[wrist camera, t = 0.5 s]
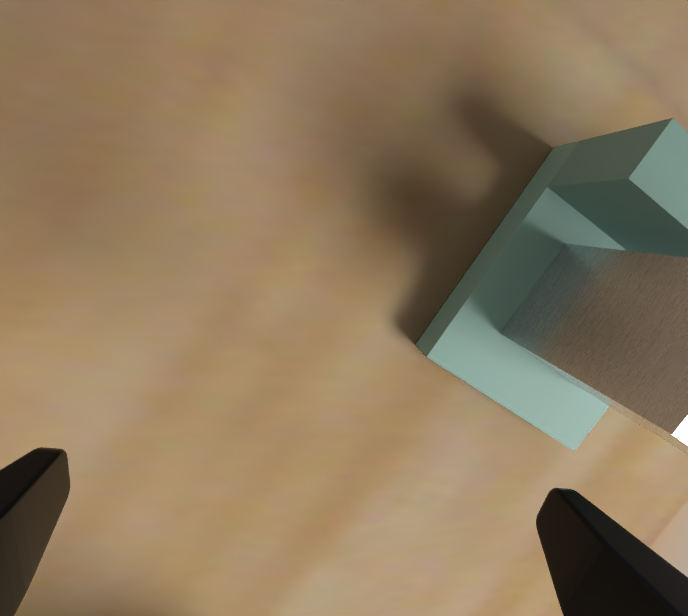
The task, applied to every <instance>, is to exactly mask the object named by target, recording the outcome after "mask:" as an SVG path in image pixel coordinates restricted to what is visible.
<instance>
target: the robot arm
mask: <svg viewBox="0 0 688 616" xmlns="http://www.w3.org/2000/svg"><path fill="white" fill-rule="evenodd" d="M69 491H70V477H69V468H68V458H67V453H66V452H65V451H64V450H63V449H56V448H43V447H41V448H37V449H34V450H32V451H31V452H29V453H28V454H26V455H24V456H23V457H21V458H19V459H18V460H16V461H14V462H13V463H11V464H9V465H8V466H6V467H5V468H3V469H1V470H0V616H14V614H15V612H16V611H17V609H18V607H19V605H20V603H21V601H22V599H23V597H24V596H25V594H26V592H27V589H28V587H29V585H30V583H31V581H32V579H33V576H34V574H35V572H36V569H37V567H38V565H39V563H40V560H41V558H42V556H43V553H44V551H45V549H46V546H47V544H48V542H49V540H50V537H51V535H52V533H53V530H54V528H55V526H56V523H57V521H58V519H59V516H60V514H61V512H62V510H63V507H64V505H65V503H66V500H67V498H68V495H69ZM536 526H537V531H538V534H539V538H540V541H541V544H542V548H543V551H544V554H545V558H546V561H547V564H548V568H549V571H550V574H551V578H552V581H553V584H554V588H555V591H556V594H557V598H558V601H559V604H560V607H561V610H562V613H563V615H564V616H688V577H686V576H685V575H684V574H682V573H681V572H680V571H679V570H677V569H676V568H675V567H673V566H672V565H671V564H670V563H668V562H667V561H666V560H664V559H663V558H662V557H661V556H659V555H658V554H656V553H655V552H654V551H653V550H651V549H650V548H649V547H648V546H646V545H645V544H644V543H642V542H641V541H640V540H639V539H637V538H636V537H635V536H633V535H632V534H631V533H630V532H628V531H627V530H626V529H624V528H623V527H622V526H620V525H619V524H618V523H617V522H615V521H614V520H613V519H611V518H610V517H609V516H608V515H606V514H605V513H604V512H602V511H601V510H600V509H599V508H597V507H596V506H595V505H593V504H592V503H591V502H589V501H588V500H587V499H586V498H584V497H583V496H582V495H580V494H579V493H578V492H576V491H575V490H572V489H563V488H553V489H552V490H550V492H549V493H548V495H547V497H546V499H545V501H544V503H543V505H542V507H541V509H540V511H539V513H538V515H537V519H536Z"/></svg>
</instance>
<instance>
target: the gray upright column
mask: <svg viewBox="0 0 688 616" xmlns="http://www.w3.org/2000/svg"><path fill="white" fill-rule="evenodd" d="M500 334H501V335H503V336H504V337H506V338H507V339H508V340H510V341H511V342H513V343H514V344H516V345H517V346H519V347H520V348H522V349H523V350H525V351H526V352H527V353H529V354H530V355H532V356H533V357H535V358H536V359H538V360H539V361H541V362H542V363H544V364H545V365H546V366H548V367H549V368H551V369H552V370H554V371H555V372H557V373H558V374H560V375H561V376H563V377H564V378H566V379H567V380H568V381H570V382H571V383H573V384H574V385H576V386H577V387H579V388H581V389H582V390H584V391H586V392H587V393H589V394H590V395H592V396H594V397H595V398H597V399H599V400H600V401H602V402H604V403H605V404H607V405H608V406H610V407H612V408H613V409H615V410H617V411H618V412H620V413H622V414H623V415H625V416H626V417H628V418H630V419H631V420H633V421H635V422H636V423H638V424H639V425H641V426H643V427H644V428H646V429H648V430H649V431H651V432H653V433H654V434H656V435H657V436H659V437H661V438H662V439H664V440H666V441H667V442H669V443H670V444H672V445H674V446H675V447H677V448H679V449H680V450H682V451H684V452H685V453H687V454H688V258H687V257H678V256H670V255H661V254H652V253H643V252H635V251H626V250H617V249H609V248H600V247H591V246H582V245H574V244H564V245H563V247H562V248H561V249H560V251H559V252H558V254H557V255H556V256H555V258H554V259H553V260H552V262H551V263H550V265H549V266H548V267H547V269H546V270H545V271H544V273H543V274H542V276H541V277H540V278H539V280H538V281H537V282H536V284H535V285H534V287H533V288H532V289H531V291H530V292H529V293H528V295H527V296H526V298H525V299H524V300H523V302H522V303H521V304H520V306H519V307H518V309H517V310H516V311H515V313H514V314H513V315H512V317H511V318H510V320H509V321H508V322H507V324H506V325H505V326H504V328H503V329H502V331H501V332H500Z"/></svg>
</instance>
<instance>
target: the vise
mask: <svg viewBox="0 0 688 616" xmlns="http://www.w3.org/2000/svg"><path fill="white" fill-rule="evenodd" d="M564 244H574V245H582V246H591V247H600V248H609V249H617V250H626V251H635V252H643V253H652V254H661V255H670V256H678V257H687V258H688V132H687V131H686V130H685V129H684V128H683V127H682V126H681V125H680V124H679V123H678V122H677V121H675V120H674V119H673V118H671V119H667V120H663V121H659V122H655V123H651V124H647V125H643V126H639V127H635V128H631V129H627V130H623V131H619V132H615V133H611V134H607V135H603V136H598V137H594V138H590V139H586V140H582V141H578V142H574V143H570V144H566V145H562V146H558V147H554V148H553V150H552V151H551V152H550V154H549V155H548V157H547V158H546V160H545V161H544V162H543V164H542V165H541V167H540V168H539V169H538V171H537V172H536V174H535V175H534V177H533V178H532V179H531V181H530V182H529V184H528V185H527V187H526V188H525V189H524V191H523V192H522V194H521V195H520V196H519V198H518V199H517V201H516V202H515V204H514V205H513V206H512V208H511V209H510V211H509V212H508V214H507V215H506V216H505V218H504V219H503V221H502V222H501V224H500V225H499V226H498V228H497V229H496V231H495V232H494V233H493V235H492V236H491V238H490V239H489V241H488V242H487V243H486V245H485V246H484V248H483V249H482V251H481V252H480V253H479V255H478V256H477V258H476V259H475V261H474V262H473V263H472V265H471V266H470V268H469V269H468V270H467V272H466V273H465V275H464V276H463V278H462V279H461V280H460V282H459V283H458V285H457V286H456V288H455V289H454V290H453V292H452V293H451V295H450V296H449V297H448V299H447V300H446V302H445V303H444V305H443V306H442V307H441V309H440V310H439V312H438V313H437V315H436V316H435V317H434V319H433V320H432V322H431V323H430V325H429V326H428V327H427V329H426V330H425V332H424V333H423V334H422V336H421V337H420V339H419V340H418V342H417V343H416V344H415V345H416V346H417V347H418V348H419V349H420V351H421V352H422V353H423V354H424V355H425V356H426V357H427V358H429V359H430V360H432V361H434V362H435V363H437V364H438V365H440V366H441V367H443V368H444V369H446V370H448V371H449V372H451V373H452V374H454V375H455V376H457V377H459V378H460V379H462V380H463V381H465V382H466V383H468V384H470V385H471V386H473V387H474V388H476V389H477V390H479V391H481V392H482V393H484V394H485V395H487V396H488V397H490V398H491V399H493V400H495V401H496V402H498V403H499V404H501V405H502V406H504V407H506V408H507V409H509V410H510V411H512V412H513V413H515V414H517V415H518V416H520V417H521V418H523V419H524V420H526V421H528V422H529V423H531V424H532V425H534V426H535V427H537V428H539V429H540V430H542V431H543V432H545V433H546V434H548V435H549V436H551V437H553V438H554V439H556V440H557V441H559V442H560V443H562V444H564V445H565V446H567V447H568V448H570V449H571V450H573V451H575V450H576V448H577V447H578V446H579V445H580V443H581V442H582V441H583V440H584V438H585V437H586V436H587V434H588V433H589V432H590V431H591V429H592V428H593V427H594V425H595V424H596V423H597V422H598V420H599V419H600V418H601V416H602V415H603V414H604V413H605V411H606V410H607V409H608V408H609V406H608V405H607V404H605V403H604V402H602V401H600V400H599V399H597V398H595V397H594V396H592V395H590V394H589V393H587V392H586V391H584V390H582V389H581V388H579V387H577V386H576V385H574V384H573V383H571V382H570V381H568V380H567V379H566V378H564V377H563V376H561V375H560V374H558V373H557V372H555V371H554V370H552V369H551V368H549V367H548V366H546V365H545V364H544V363H542V362H541V361H539V360H538V359H536V358H535V357H533V356H532V355H530V354H529V353H527V352H526V351H525V350H523V349H522V348H520V347H519V346H517V345H516V344H514V343H513V342H511V341H510V340H508V339H507V338H506V337H504V336H503V335H501V334H500V332H501V331H502V329H503V328H504V326H505V325H506V324H507V322H508V321H509V320H510V318H511V317H512V315H513V314H514V313H515V311H516V310H517V309H518V307H519V306H520V304H521V303H522V302H523V300H524V299H525V298H526V296H527V295H528V293H529V292H530V291H531V289H532V288H533V287H534V285H535V284H536V282H537V281H538V280H539V278H540V277H541V276H542V274H543V273H544V271H545V270H546V269H547V267H548V266H549V265H550V263H551V262H552V260H553V259H554V258H555V256H556V255H557V254H558V252H559V251H560V249H561V248H562V247H563V245H564Z"/></svg>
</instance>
